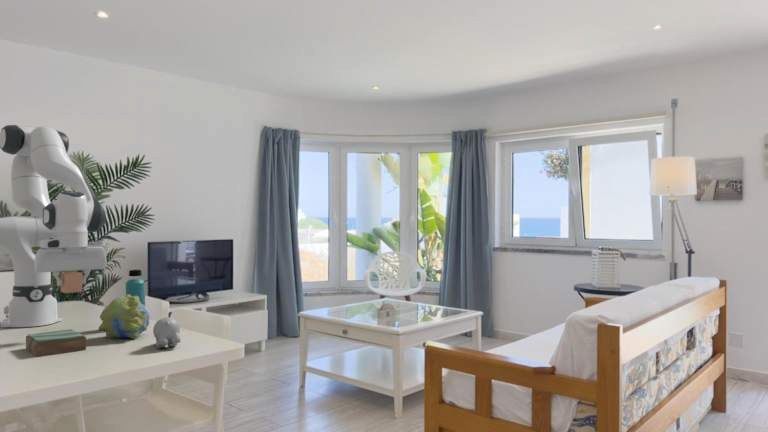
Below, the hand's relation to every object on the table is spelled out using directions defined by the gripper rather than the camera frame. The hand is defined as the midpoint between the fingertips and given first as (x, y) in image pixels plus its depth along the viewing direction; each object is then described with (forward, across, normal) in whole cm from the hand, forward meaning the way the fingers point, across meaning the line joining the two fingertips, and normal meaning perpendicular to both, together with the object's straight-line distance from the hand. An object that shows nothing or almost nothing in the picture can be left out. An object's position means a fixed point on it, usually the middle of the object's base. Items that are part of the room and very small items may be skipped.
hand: (71, 284), depth 174 cm
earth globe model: (+17, -12, +14) cm, 25 cm away
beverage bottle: (+17, -21, -4) cm, 27 cm away
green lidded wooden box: (+16, +8, +16) cm, 25 cm away
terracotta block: (+2, 0, 0) cm, 2 cm away
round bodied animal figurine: (+16, -16, +35) cm, 42 cm away
